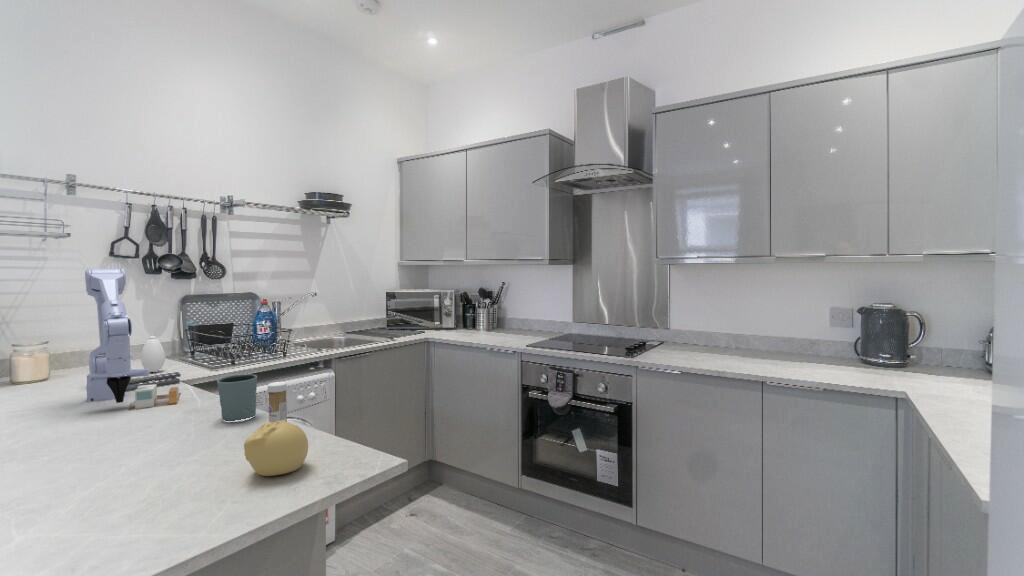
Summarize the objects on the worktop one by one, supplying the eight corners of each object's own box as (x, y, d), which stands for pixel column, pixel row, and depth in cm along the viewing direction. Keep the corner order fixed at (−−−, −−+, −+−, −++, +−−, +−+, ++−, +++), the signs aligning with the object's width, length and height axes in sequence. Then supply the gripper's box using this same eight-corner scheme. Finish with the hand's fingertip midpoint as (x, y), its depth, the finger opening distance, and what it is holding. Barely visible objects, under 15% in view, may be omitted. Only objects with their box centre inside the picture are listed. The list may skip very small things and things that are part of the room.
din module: (135, 408, 143) (134, 391, 143) (139, 403, 150) (138, 385, 149) (153, 406, 146) (153, 389, 146) (157, 401, 152) (156, 384, 152)
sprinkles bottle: (264, 434, 125) (263, 384, 125) (279, 429, 130) (277, 380, 129) (277, 437, 124) (276, 386, 123) (291, 431, 128) (290, 382, 127)
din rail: (128, 409, 143) (128, 396, 143) (132, 404, 148) (131, 391, 148) (176, 403, 149) (176, 390, 149) (178, 399, 154) (178, 386, 154)
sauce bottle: (155, 374, 196) (154, 331, 196) (137, 374, 197) (135, 331, 196) (169, 370, 204) (168, 329, 203) (151, 370, 204) (150, 329, 204)
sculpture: (265, 459, 109) (264, 413, 109) (317, 460, 109) (316, 413, 108) (235, 482, 98) (233, 430, 97) (292, 482, 97) (291, 431, 97)
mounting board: (128, 415, 142) (127, 410, 142) (137, 402, 156) (136, 397, 156) (176, 409, 148) (176, 404, 148) (181, 397, 162) (181, 392, 162)
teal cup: (265, 415, 142) (264, 375, 141) (233, 425, 133) (232, 383, 132) (243, 411, 146) (242, 372, 145) (210, 421, 137) (209, 379, 136)
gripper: (83, 362, 137) (85, 408, 137) (146, 357, 144) (147, 401, 145) (89, 358, 143) (91, 402, 143) (149, 353, 150) (151, 396, 151)
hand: (119, 401), depth 144 cm, fingers closed
